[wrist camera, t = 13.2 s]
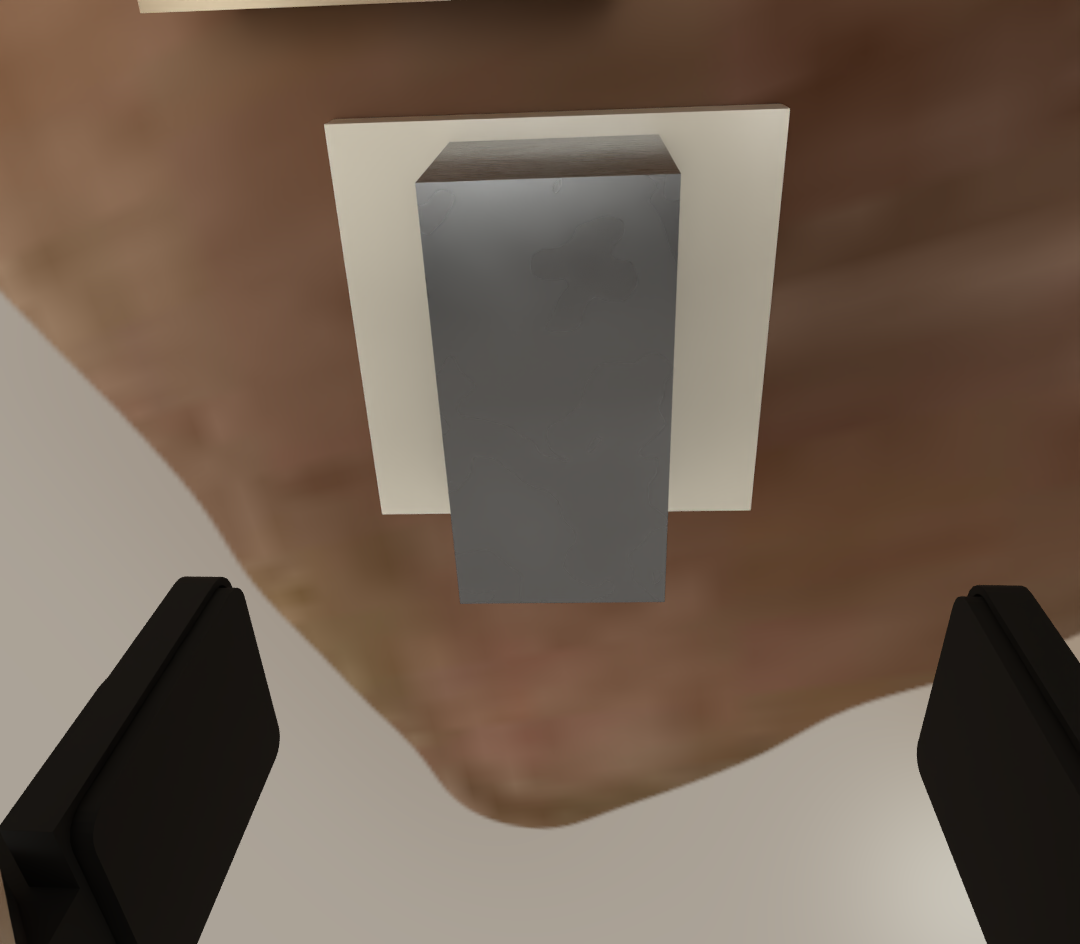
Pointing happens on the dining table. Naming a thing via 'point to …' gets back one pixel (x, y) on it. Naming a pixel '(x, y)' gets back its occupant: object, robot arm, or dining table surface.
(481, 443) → the grey metal block
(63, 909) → the robot arm
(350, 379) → the dining table surface
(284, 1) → the body
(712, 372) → the tile
